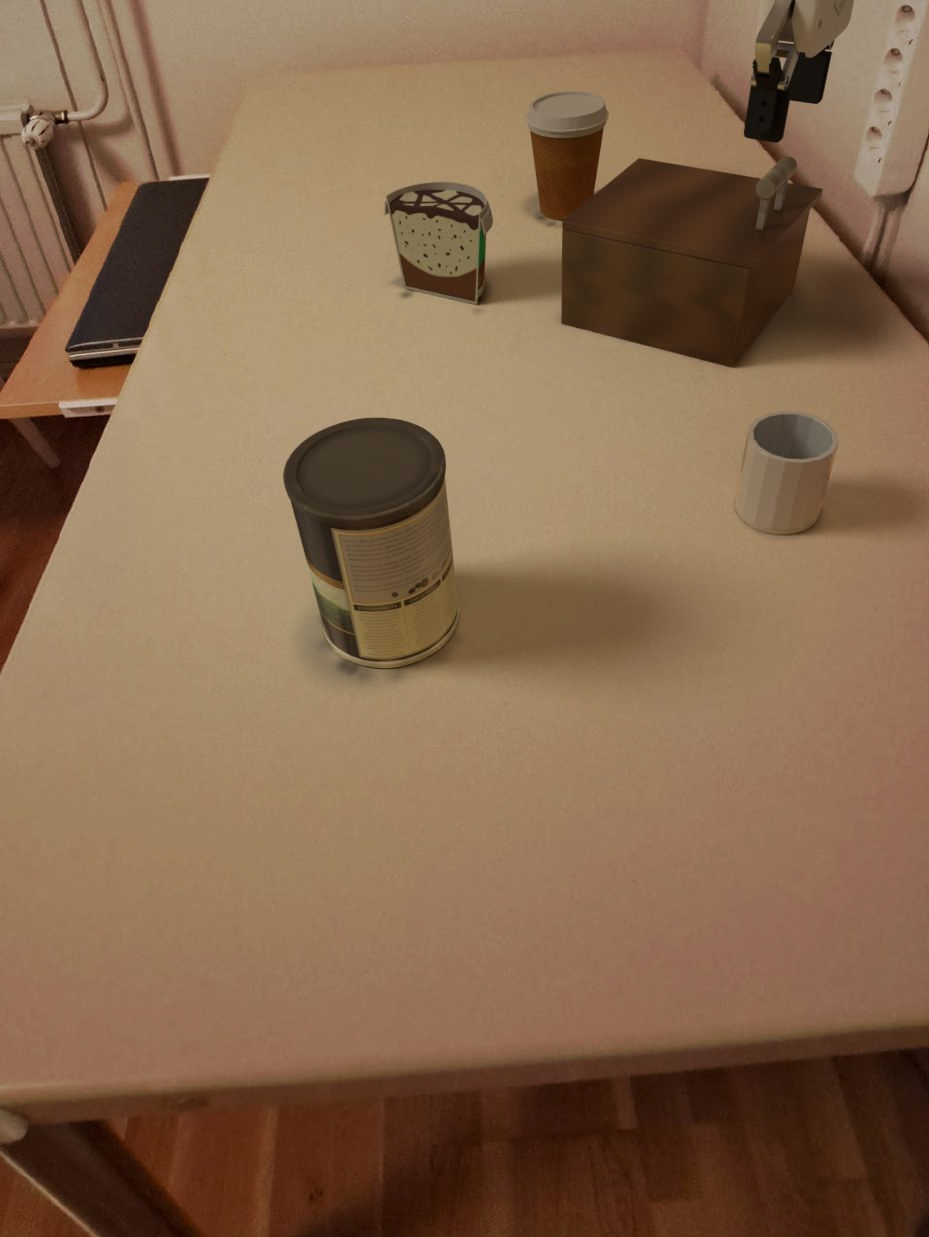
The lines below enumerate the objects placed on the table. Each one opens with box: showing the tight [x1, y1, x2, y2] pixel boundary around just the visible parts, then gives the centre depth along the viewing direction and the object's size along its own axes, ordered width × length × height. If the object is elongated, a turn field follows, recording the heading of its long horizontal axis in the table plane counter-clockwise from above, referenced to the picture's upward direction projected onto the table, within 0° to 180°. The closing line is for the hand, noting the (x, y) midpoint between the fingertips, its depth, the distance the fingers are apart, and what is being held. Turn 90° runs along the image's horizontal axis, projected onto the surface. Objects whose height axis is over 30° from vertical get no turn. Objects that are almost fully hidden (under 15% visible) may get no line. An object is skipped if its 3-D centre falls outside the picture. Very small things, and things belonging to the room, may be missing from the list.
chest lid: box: [561, 155, 824, 270], centre depth 88 cm, size 19×17×5 cm
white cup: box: [734, 410, 839, 536], centre depth 72 cm, size 6×6×7 cm
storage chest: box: [560, 209, 811, 368], centre depth 94 cm, size 19×17×10 cm
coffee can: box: [282, 417, 460, 669], centre depth 64 cm, size 10×10×14 cm
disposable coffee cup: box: [525, 90, 610, 221], centre depth 111 cm, size 10×10×12 cm
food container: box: [383, 181, 494, 306], centre depth 100 cm, size 12×6×10 cm, turn 59°
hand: (783, 119), depth 80 cm, fingers open, 9 cm apart
